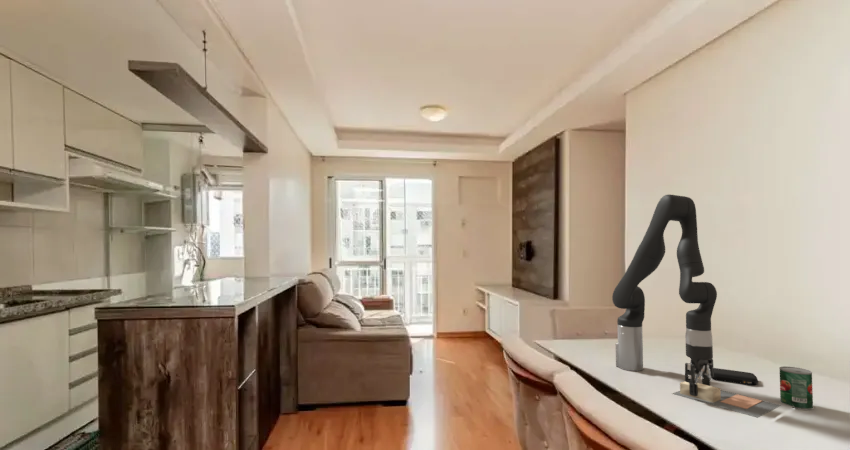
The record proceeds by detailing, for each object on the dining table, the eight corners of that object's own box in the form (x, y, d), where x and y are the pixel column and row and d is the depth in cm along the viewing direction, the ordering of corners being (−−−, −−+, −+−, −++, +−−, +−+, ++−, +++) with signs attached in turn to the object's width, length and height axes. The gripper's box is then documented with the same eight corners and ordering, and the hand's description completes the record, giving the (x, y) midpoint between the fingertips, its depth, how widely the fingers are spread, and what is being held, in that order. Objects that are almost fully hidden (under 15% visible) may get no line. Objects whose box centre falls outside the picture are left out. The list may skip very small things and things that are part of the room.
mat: (671, 395, 145) (671, 393, 145) (698, 385, 155) (698, 383, 155) (757, 419, 125) (757, 416, 125) (781, 407, 135) (781, 404, 135)
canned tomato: (773, 400, 140) (772, 366, 141) (798, 400, 140) (797, 366, 141) (793, 409, 132) (792, 373, 133) (820, 410, 132) (819, 373, 133)
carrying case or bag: (709, 381, 161) (759, 388, 153) (709, 373, 161) (759, 379, 153) (709, 374, 170) (756, 380, 162) (709, 366, 170) (756, 372, 162)
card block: (680, 393, 145) (680, 382, 145) (687, 390, 148) (687, 380, 148) (713, 402, 136) (713, 391, 137) (720, 399, 139) (720, 388, 139)
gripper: (697, 338, 150) (698, 386, 149) (675, 343, 142) (677, 393, 141) (721, 342, 144) (722, 392, 143) (700, 348, 136) (702, 400, 135)
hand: (700, 393), depth 142 cm, fingers open, 8 cm apart
